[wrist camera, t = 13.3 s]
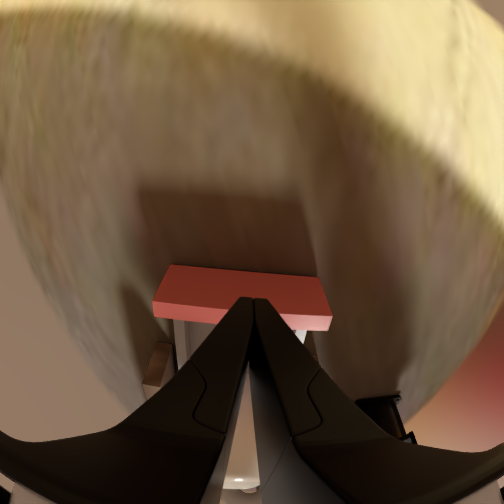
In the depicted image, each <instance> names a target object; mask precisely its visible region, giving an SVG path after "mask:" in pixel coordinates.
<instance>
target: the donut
mask: <svg viewBox="0 0 504 504" xmlns="http://www.w3.org/2000/svg"><path fill="white" fill-rule="evenodd" d="M221 500H222V501H224V502H225V503H226V504H262V498H261V488H259V489H258V490H257V491H256V492H254V493H245V492H243V491H241V490H240V489H224V488H223V489H222V494H221Z"/></svg>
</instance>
